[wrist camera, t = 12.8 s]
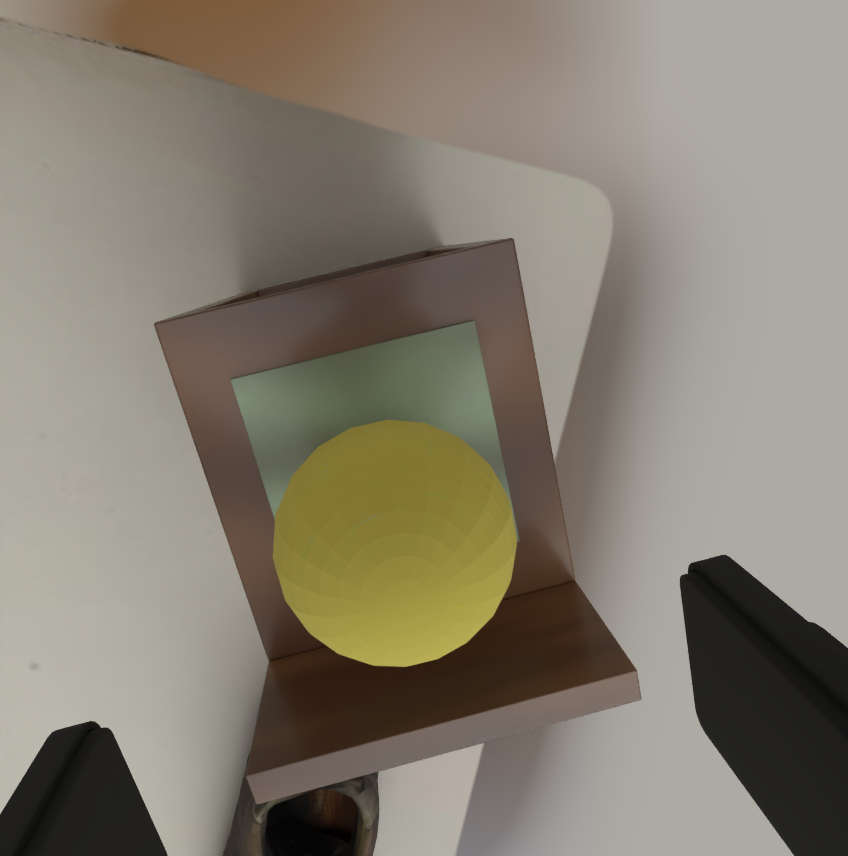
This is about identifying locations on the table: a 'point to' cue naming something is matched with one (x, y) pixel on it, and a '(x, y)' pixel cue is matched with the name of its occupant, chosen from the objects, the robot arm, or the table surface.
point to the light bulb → (394, 543)
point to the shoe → (308, 821)
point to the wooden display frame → (368, 403)
